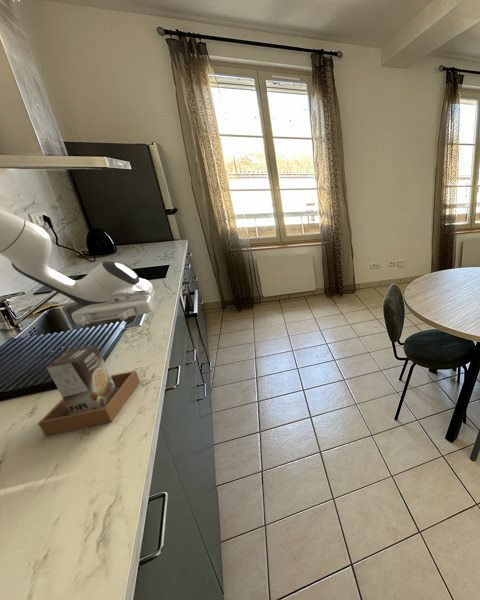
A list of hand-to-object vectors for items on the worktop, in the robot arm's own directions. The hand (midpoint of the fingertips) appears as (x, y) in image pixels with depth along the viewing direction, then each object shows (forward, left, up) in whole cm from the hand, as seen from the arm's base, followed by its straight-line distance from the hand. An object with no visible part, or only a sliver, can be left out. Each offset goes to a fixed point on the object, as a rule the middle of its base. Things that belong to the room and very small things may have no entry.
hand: (103, 320), depth 96 cm
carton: (0, -17, -18) cm, 25 cm away
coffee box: (0, -17, -18) cm, 25 cm away
